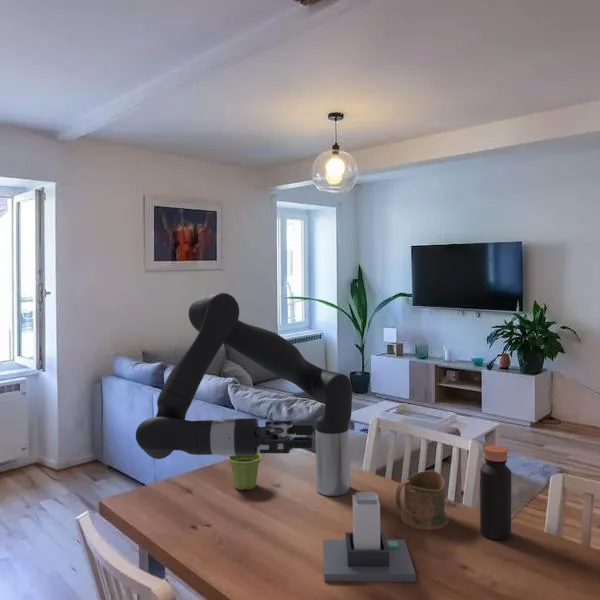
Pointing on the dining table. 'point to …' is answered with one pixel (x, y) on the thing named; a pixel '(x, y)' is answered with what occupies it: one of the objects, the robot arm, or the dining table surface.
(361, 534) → the grey tall block
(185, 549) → the dining table surface
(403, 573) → the dock
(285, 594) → the dining table surface
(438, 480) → the mug
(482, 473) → the bottle
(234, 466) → the plant pot
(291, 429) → the robot arm
